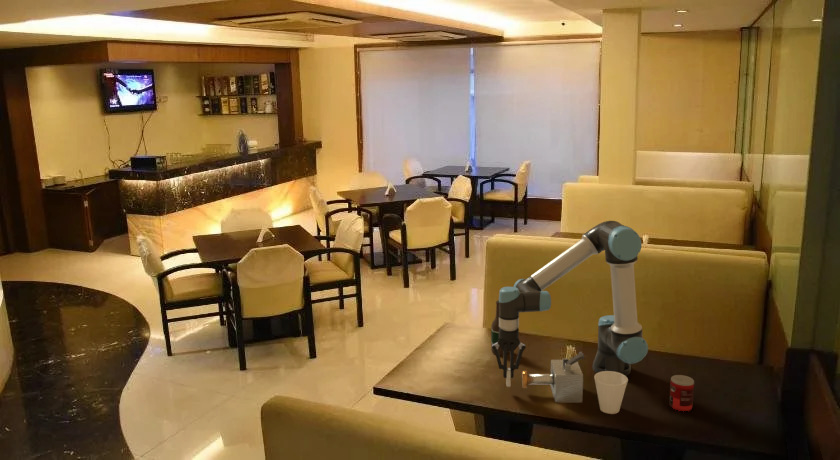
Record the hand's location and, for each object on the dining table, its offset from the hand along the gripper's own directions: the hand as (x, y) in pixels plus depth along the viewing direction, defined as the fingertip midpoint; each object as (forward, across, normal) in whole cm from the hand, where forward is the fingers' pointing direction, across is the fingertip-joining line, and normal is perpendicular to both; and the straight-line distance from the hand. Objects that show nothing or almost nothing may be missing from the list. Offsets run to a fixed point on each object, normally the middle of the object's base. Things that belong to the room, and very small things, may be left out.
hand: (508, 385), depth 256 cm
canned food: (+4, -62, +10) cm, 63 cm away
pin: (+1, -14, 0) cm, 14 cm away
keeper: (-10, -25, 0) cm, 27 cm away
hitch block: (+4, -22, 0) cm, 22 cm away
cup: (+4, -36, +12) cm, 38 cm away
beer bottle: (+4, +1, -40) cm, 40 cm away
